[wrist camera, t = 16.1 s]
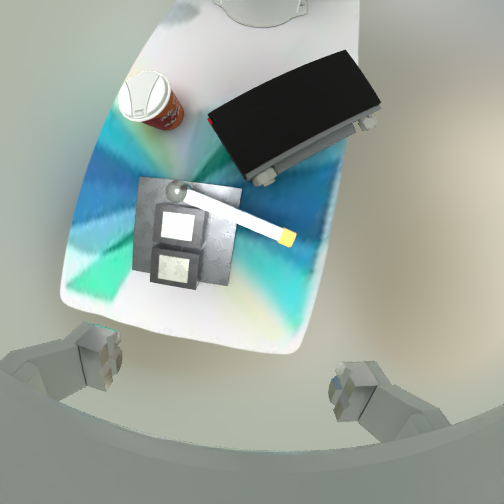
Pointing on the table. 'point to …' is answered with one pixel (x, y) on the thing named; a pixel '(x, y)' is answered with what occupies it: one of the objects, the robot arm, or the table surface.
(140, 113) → the paper cup
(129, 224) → the table surface
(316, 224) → the table surface
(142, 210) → the tray
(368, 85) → the electrical component
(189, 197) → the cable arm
